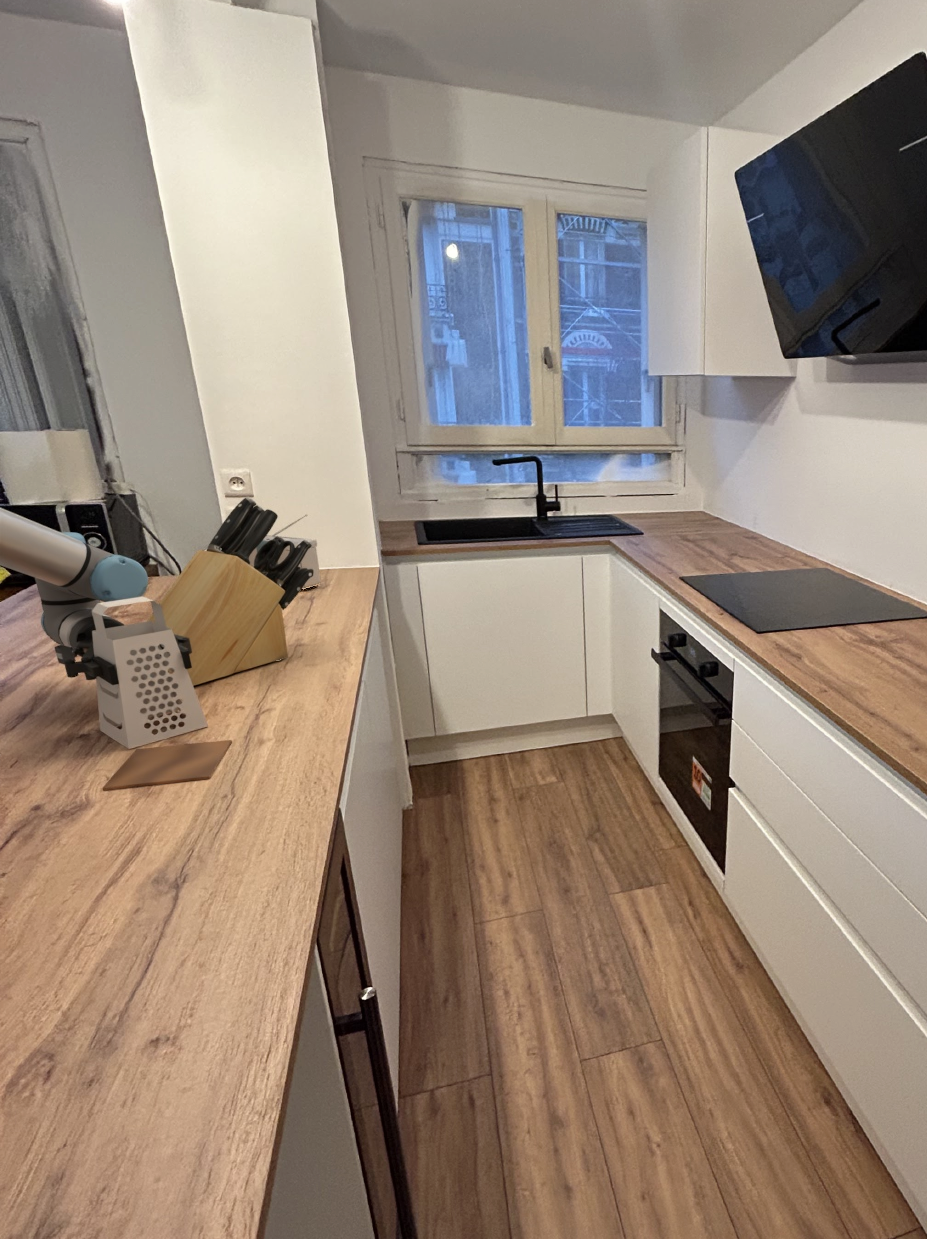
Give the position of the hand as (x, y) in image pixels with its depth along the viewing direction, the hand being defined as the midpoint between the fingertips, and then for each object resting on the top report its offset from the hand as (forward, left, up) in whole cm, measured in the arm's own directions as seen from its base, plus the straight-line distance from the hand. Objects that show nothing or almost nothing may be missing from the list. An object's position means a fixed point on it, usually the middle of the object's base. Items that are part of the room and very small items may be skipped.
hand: (151, 667), depth 105 cm
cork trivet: (+3, -10, -11) cm, 15 cm away
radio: (-2, +105, -11) cm, 105 cm away
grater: (-3, +4, -11) cm, 12 cm away
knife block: (+1, +33, -11) cm, 35 cm away
